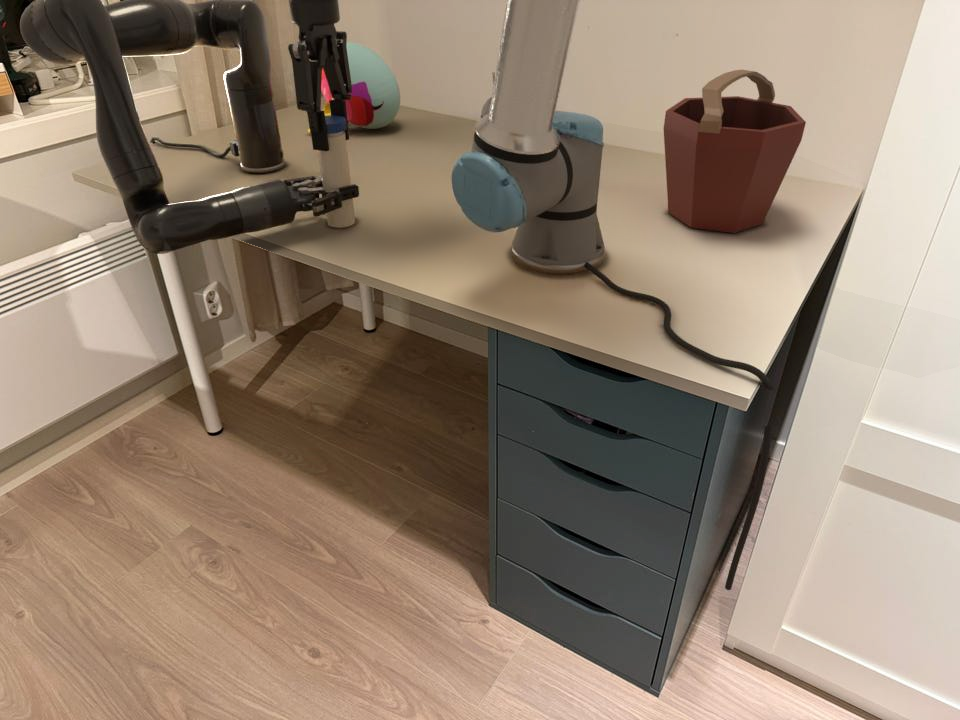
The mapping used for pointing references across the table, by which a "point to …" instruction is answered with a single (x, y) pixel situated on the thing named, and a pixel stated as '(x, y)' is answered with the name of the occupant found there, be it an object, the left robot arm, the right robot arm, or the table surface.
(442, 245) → the table surface
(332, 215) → the jar
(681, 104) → the bucket
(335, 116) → the lid
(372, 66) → the toy
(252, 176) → the table surface
